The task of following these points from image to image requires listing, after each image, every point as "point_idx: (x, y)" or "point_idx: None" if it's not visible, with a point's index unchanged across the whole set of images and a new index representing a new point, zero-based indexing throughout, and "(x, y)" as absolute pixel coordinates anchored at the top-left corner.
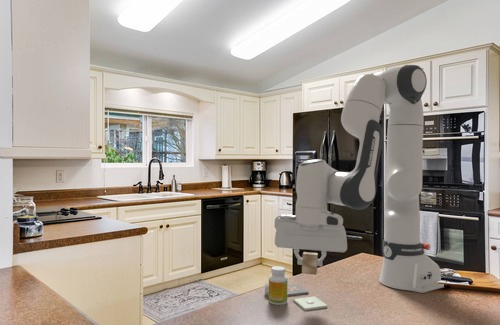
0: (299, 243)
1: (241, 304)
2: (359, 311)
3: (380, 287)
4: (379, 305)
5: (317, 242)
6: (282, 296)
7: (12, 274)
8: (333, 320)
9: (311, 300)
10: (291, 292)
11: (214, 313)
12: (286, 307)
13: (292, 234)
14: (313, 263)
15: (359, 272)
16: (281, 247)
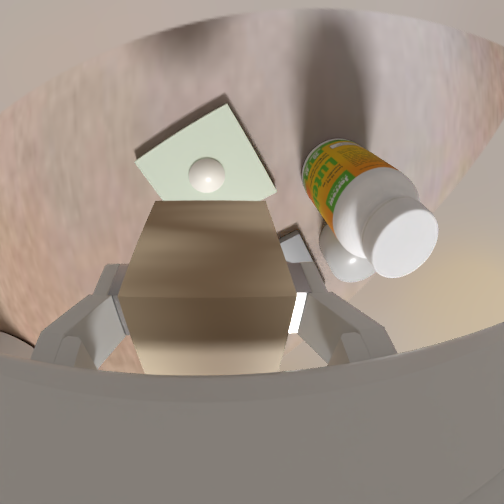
0: (383, 423)
1: (441, 137)
2: (35, 165)
3: None
4: (4, 233)
5: (84, 472)
6: (332, 151)
7: None
8: (111, 49)
9: (202, 191)
10: (284, 253)
11: (488, 79)
12: (303, 122)
13: (486, 484)
14: (167, 246)
15: None
16: (492, 326)
